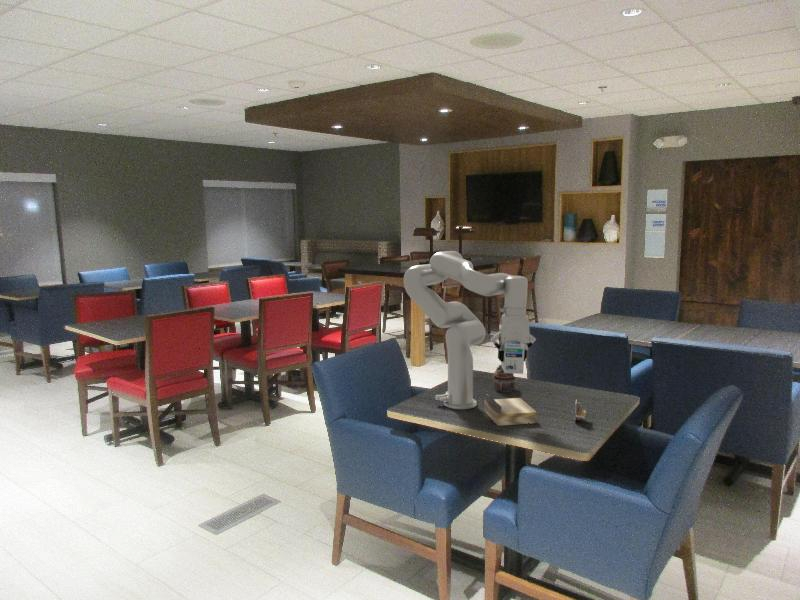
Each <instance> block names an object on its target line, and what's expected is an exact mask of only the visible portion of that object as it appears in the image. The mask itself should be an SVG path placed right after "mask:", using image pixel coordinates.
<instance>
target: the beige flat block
mask: <svg viewBox="0 0 800 600" xmlns="http://www.w3.org/2000/svg"><path fill="white" fill-rule="evenodd" d="M483 411H484V413H486V414H487V416H488V417H489V418H490V419H491V420H492V421H493V422H494V423H495V424H496V425H497V426H510V425H511V426H512V425H525V424H526V425H528V423H529V424H537V415H538V412H537V411H536V410H535V409H534V408H533V407H531V406H530V405H529V404H528V403H527V402H525V401H524V399H522V398H521V397H512V398H499V399H498V398H497V399H494V398H493V397H492V396H491V395H490V394H488V393H485V394H484V400H483Z"/></svg>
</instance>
